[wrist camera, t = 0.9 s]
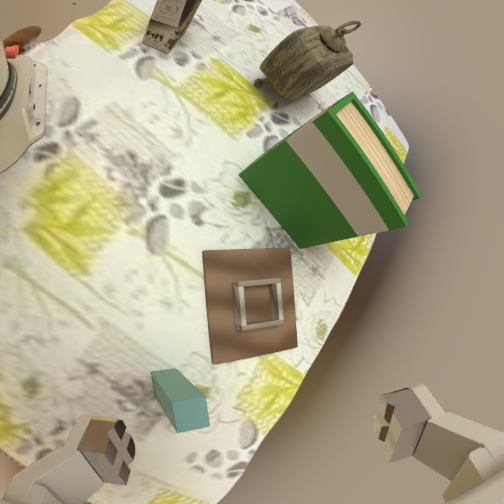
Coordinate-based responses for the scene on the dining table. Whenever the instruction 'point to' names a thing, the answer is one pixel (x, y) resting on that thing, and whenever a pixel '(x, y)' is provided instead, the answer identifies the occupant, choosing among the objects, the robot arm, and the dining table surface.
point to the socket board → (249, 302)
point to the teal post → (180, 400)
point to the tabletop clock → (307, 60)
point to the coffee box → (169, 23)
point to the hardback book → (333, 178)
